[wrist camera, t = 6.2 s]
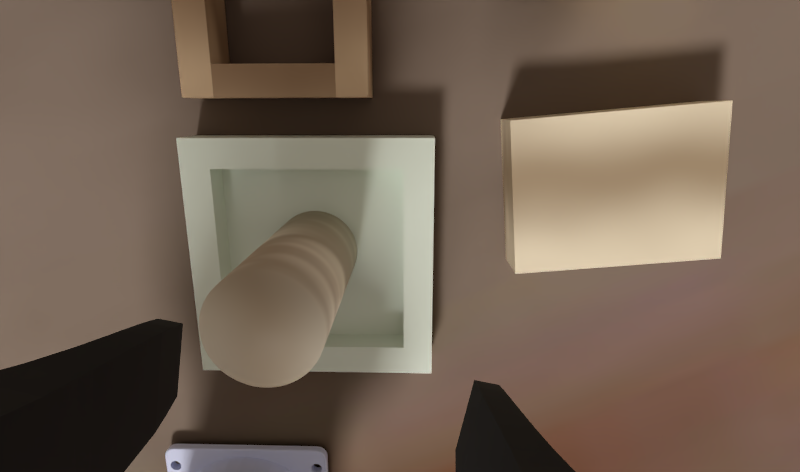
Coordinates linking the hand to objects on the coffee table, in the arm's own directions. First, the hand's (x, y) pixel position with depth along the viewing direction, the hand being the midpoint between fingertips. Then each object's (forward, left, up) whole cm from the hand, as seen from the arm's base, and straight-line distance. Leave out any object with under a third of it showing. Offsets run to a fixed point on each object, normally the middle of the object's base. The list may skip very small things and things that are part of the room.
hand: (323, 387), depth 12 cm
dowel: (+1, +2, -10) cm, 10 cm away
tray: (0, +2, -10) cm, 11 cm away
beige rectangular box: (+3, -10, -11) cm, 15 cm away
